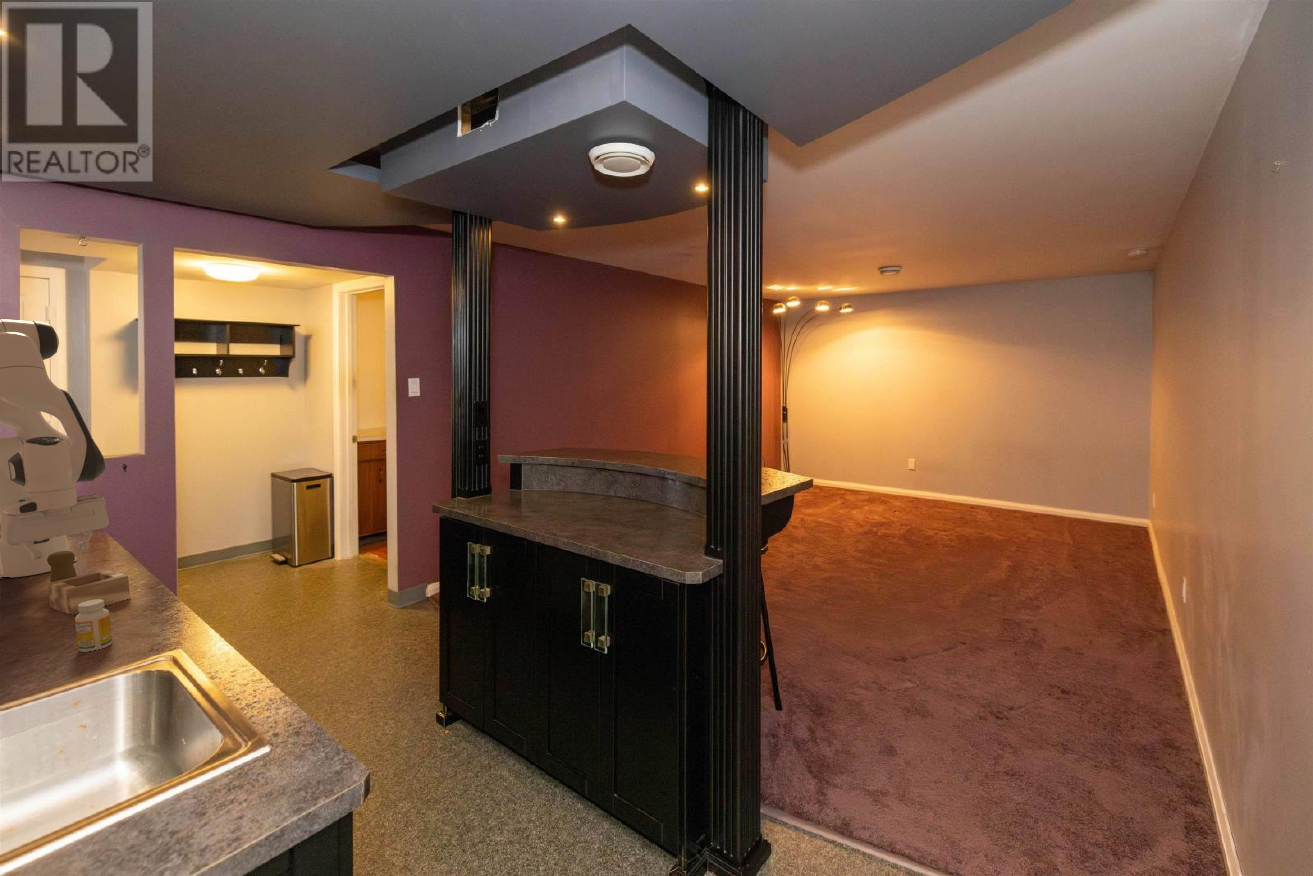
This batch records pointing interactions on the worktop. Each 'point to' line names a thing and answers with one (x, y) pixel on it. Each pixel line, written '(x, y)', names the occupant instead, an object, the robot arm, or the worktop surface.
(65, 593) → the shaker holder
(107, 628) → the supplement bottle
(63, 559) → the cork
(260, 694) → the worktop surface
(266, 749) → the worktop surface
